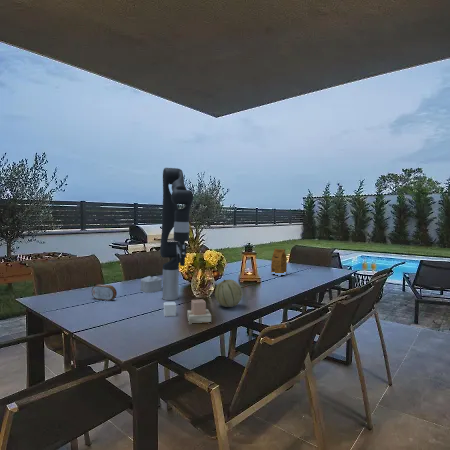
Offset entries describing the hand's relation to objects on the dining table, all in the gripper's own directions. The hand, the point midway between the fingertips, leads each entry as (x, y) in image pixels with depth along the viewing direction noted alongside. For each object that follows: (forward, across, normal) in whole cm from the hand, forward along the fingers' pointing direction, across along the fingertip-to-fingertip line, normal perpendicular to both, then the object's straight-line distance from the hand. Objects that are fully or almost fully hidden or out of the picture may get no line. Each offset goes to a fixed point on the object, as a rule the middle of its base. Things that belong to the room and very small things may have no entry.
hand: (180, 264), depth 158 cm
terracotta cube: (+21, -11, -7) cm, 25 cm away
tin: (+27, +37, +37) cm, 59 cm away
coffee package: (+28, +83, -96) cm, 130 cm away
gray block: (+25, -11, -7) cm, 28 cm away
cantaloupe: (+25, +6, -27) cm, 38 cm away
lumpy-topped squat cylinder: (+27, +54, +9) cm, 61 cm away
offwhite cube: (+25, +1, +5) cm, 26 cm away
